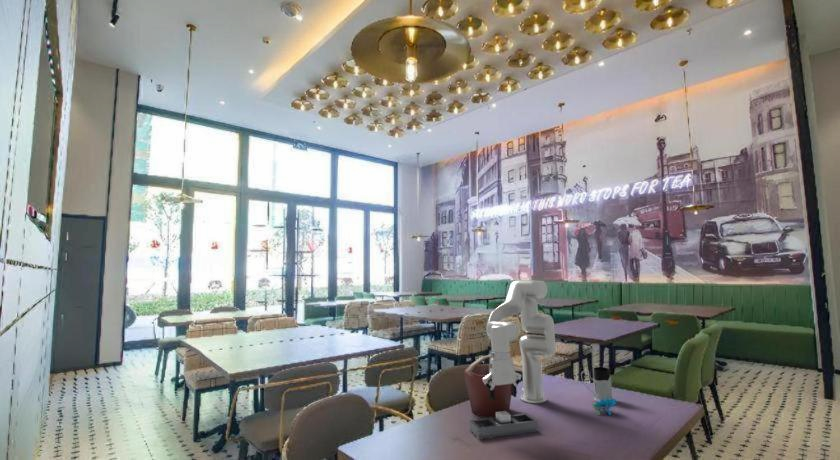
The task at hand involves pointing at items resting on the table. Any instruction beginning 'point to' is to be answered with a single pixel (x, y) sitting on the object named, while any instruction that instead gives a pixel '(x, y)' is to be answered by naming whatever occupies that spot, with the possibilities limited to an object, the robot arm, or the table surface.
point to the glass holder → (601, 383)
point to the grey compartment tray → (503, 426)
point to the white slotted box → (503, 417)
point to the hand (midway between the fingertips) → (503, 397)
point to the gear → (604, 405)
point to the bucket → (485, 391)
